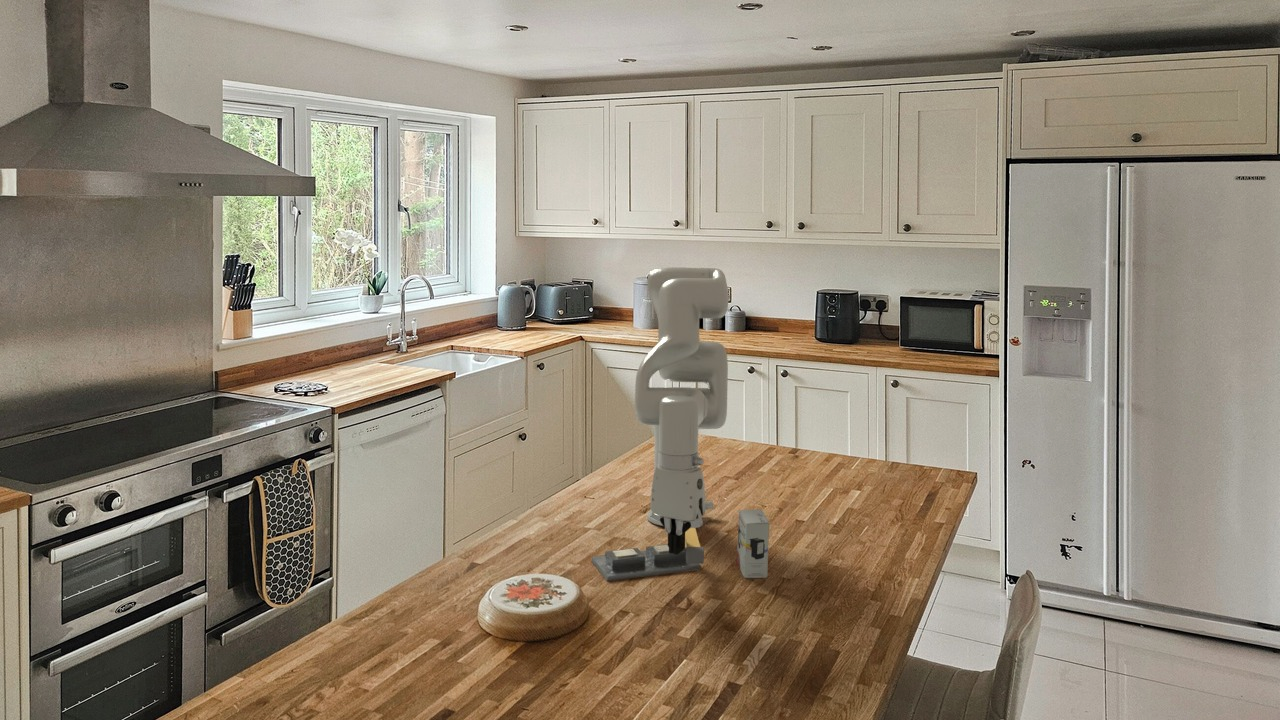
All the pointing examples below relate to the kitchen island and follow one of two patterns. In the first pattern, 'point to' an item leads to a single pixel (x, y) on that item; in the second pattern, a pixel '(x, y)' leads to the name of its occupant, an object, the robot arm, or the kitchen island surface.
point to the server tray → (641, 562)
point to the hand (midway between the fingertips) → (676, 551)
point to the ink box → (753, 543)
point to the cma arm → (693, 548)
